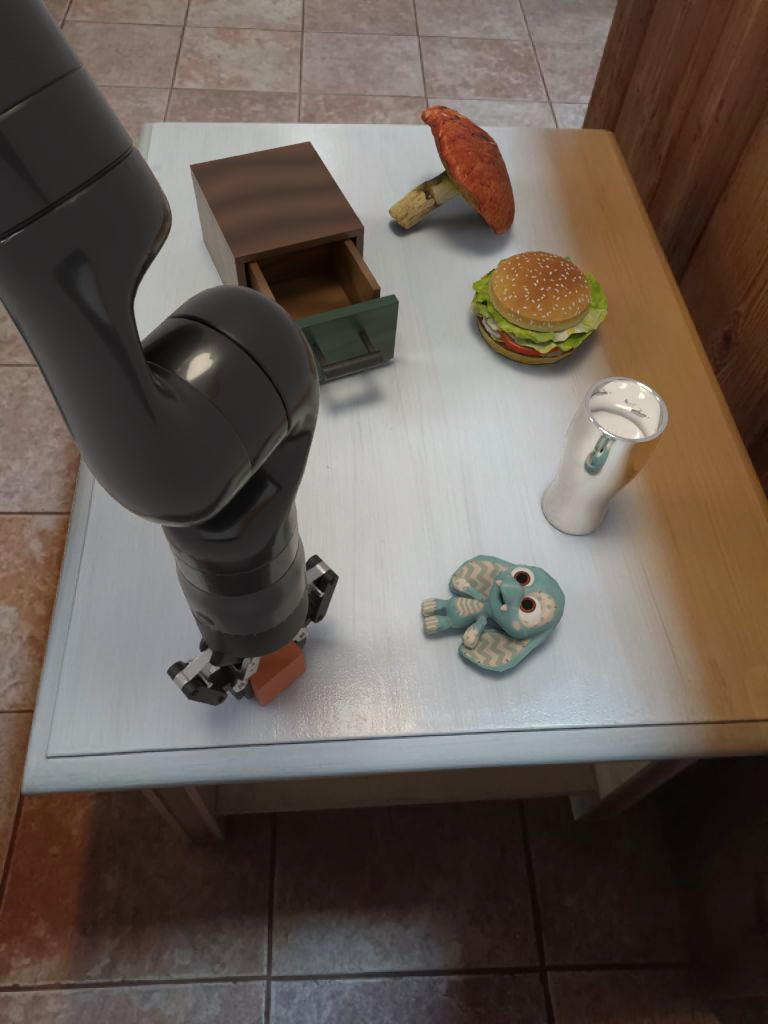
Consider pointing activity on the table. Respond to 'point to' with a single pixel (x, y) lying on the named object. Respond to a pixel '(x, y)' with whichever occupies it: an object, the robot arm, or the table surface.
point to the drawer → (331, 305)
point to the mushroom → (461, 173)
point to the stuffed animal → (498, 610)
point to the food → (537, 307)
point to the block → (277, 672)
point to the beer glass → (603, 452)
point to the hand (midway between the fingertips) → (267, 668)
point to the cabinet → (269, 207)
